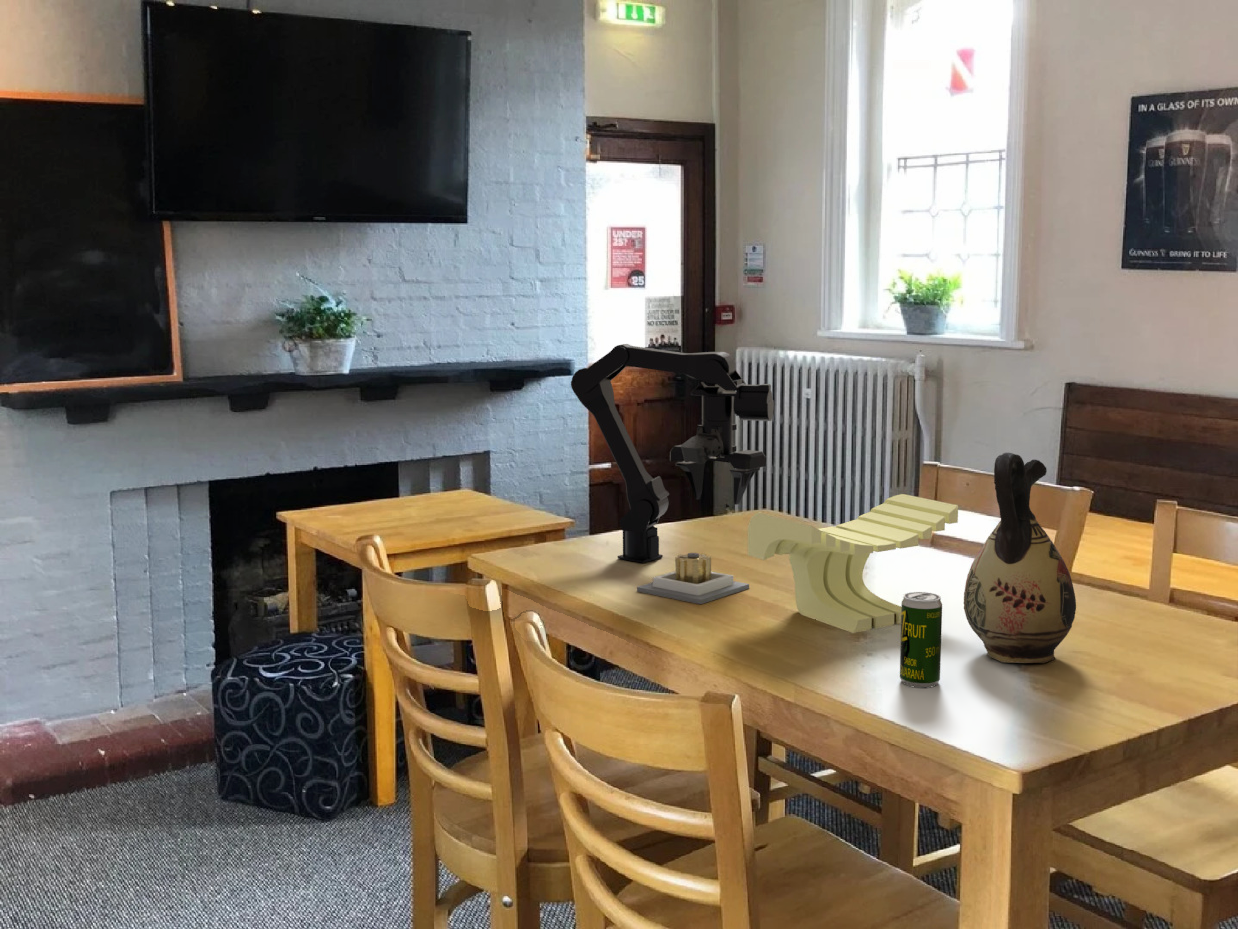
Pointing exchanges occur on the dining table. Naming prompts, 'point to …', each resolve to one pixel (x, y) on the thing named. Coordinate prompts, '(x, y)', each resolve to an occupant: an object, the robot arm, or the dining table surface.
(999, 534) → the ceramic jug
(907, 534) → the slatted curved stool
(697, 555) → the gear
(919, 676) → the green soda can
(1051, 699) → the dining table surface
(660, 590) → the carrier plate
